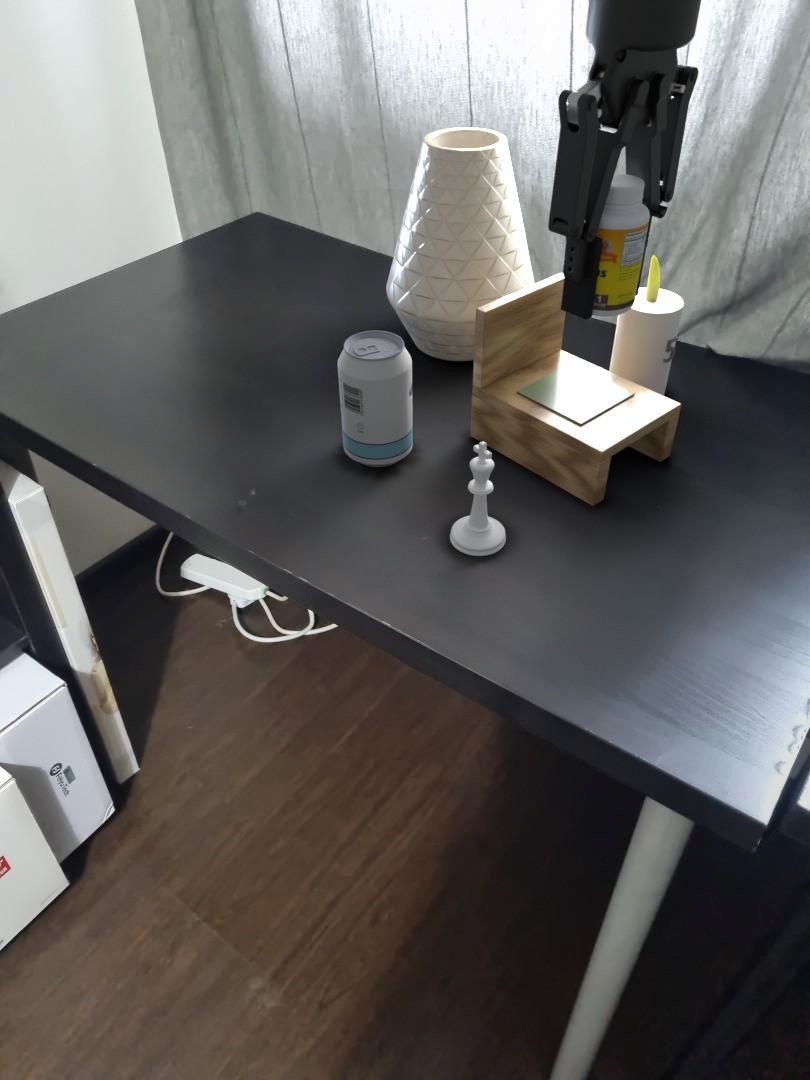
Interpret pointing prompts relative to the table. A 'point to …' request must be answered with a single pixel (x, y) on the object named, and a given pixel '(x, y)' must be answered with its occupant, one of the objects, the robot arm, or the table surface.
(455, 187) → the vase
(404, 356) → the beverage can
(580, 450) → the shelf
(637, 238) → the supplement bottle
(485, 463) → the chess piece
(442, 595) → the table surface
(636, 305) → the candle
